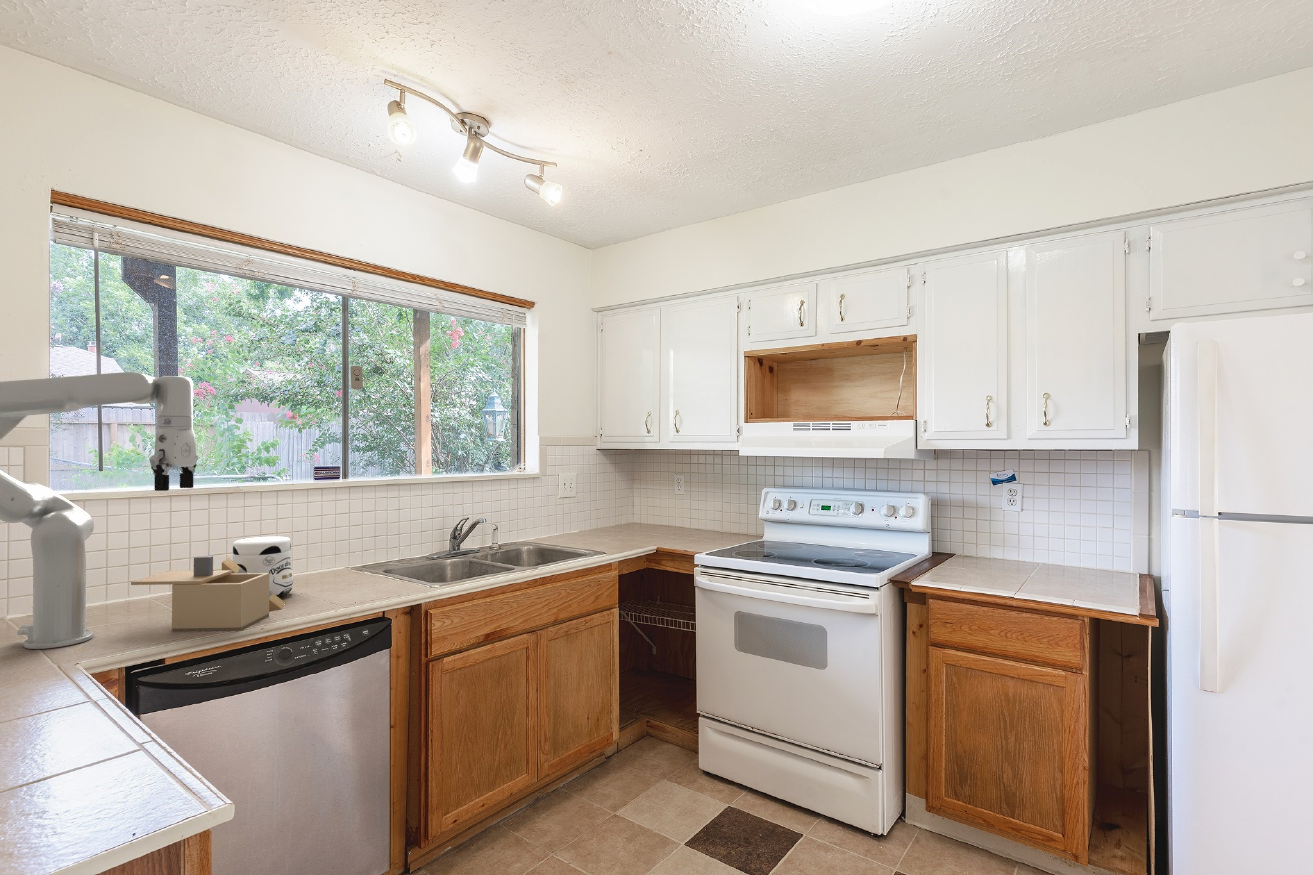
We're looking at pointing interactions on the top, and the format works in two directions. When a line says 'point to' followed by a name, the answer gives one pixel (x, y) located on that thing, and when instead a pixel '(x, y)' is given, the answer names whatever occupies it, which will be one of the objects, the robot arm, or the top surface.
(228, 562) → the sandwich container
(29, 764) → the top surface
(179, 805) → the top surface
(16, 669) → the top surface
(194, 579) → the carton lid
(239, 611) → the carton
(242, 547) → the milk container
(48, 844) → the top surface
